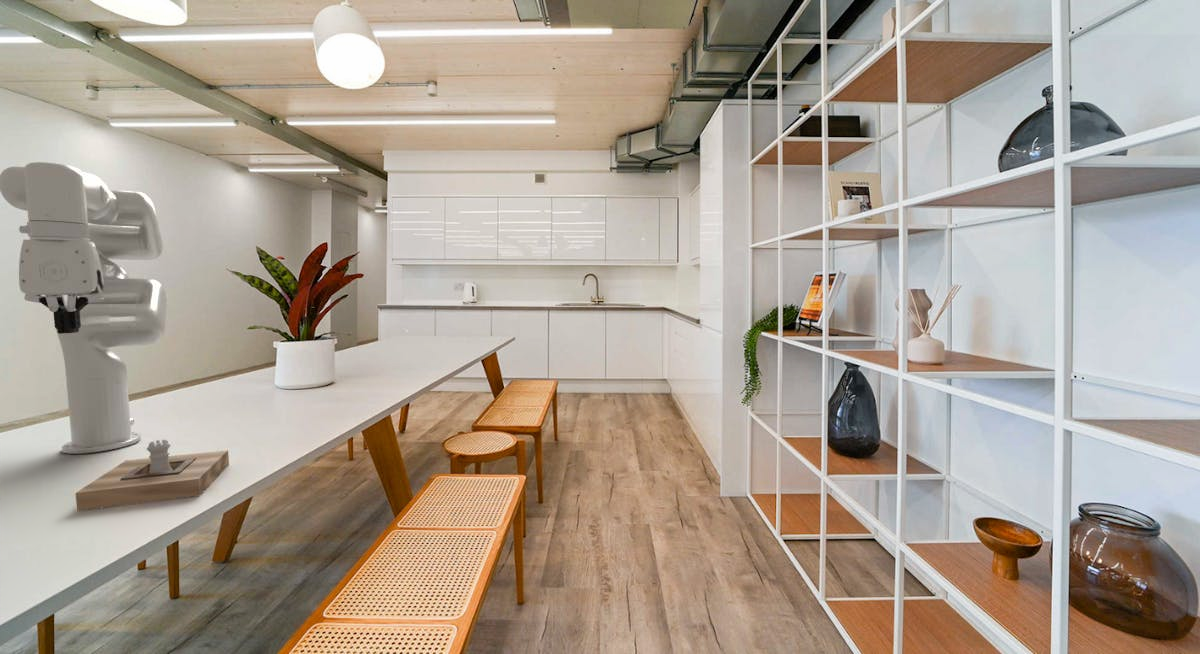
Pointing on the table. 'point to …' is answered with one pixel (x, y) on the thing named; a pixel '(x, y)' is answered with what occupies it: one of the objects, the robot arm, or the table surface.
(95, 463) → the table surface
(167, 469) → the rook chess piece
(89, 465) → the table surface
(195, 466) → the walnut board
